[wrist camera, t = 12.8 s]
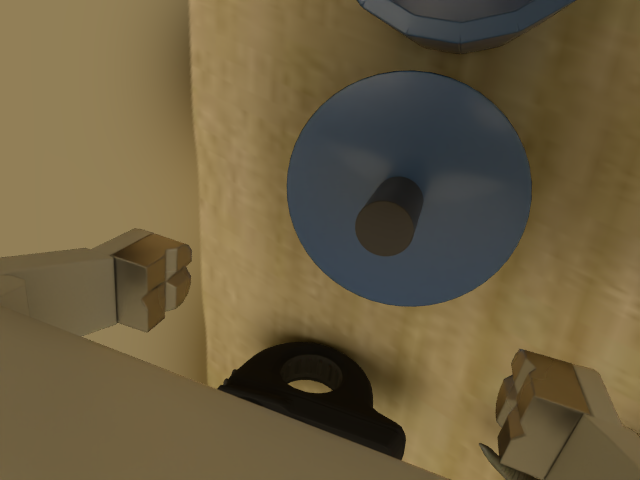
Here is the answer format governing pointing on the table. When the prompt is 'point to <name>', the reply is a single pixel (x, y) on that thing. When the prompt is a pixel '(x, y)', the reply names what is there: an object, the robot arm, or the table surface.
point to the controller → (317, 408)
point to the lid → (409, 188)
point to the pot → (463, 20)
